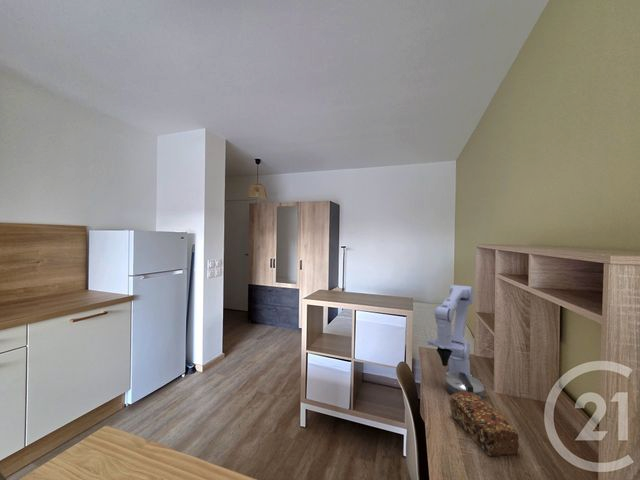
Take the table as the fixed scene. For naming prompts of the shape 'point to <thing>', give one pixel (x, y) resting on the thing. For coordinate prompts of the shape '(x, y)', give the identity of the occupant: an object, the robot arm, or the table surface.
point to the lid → (464, 382)
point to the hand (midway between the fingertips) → (445, 365)
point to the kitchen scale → (453, 390)
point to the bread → (484, 424)
